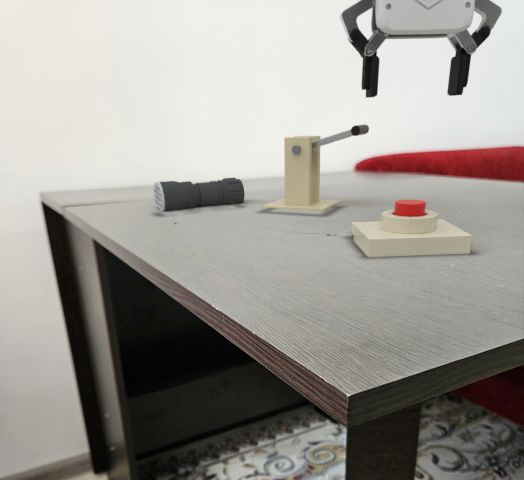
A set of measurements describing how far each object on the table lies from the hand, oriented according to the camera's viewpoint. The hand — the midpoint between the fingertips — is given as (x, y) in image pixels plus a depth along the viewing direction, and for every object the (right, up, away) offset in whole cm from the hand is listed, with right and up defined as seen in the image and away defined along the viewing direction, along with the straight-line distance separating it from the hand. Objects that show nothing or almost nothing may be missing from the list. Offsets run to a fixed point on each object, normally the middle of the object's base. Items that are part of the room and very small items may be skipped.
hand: (412, 96), depth 60 cm
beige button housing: (+1, -16, +5) cm, 17 cm away
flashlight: (-28, -5, +32) cm, 43 cm away
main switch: (-6, +3, +24) cm, 25 cm away
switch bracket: (-10, -5, +30) cm, 33 cm away
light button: (+1, -13, +4) cm, 13 cm away
